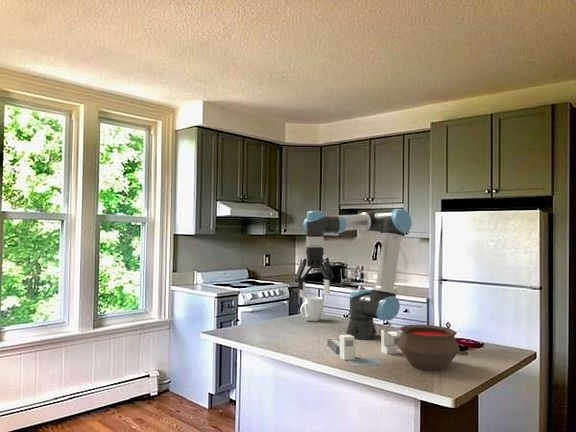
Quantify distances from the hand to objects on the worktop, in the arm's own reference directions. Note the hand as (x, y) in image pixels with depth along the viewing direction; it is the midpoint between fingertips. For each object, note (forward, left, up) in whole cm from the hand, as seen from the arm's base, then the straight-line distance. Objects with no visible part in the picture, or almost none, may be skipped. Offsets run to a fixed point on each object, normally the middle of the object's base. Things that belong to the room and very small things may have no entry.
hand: (314, 296), depth 195 cm
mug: (-16, -71, -25) cm, 77 cm away
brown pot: (-40, +23, -25) cm, 53 cm away
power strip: (-11, -7, -24) cm, 28 cm away
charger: (-11, +10, -24) cm, 29 cm away
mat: (-16, +17, -24) cm, 34 cm away
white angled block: (-32, +4, -25) cm, 41 cm away
